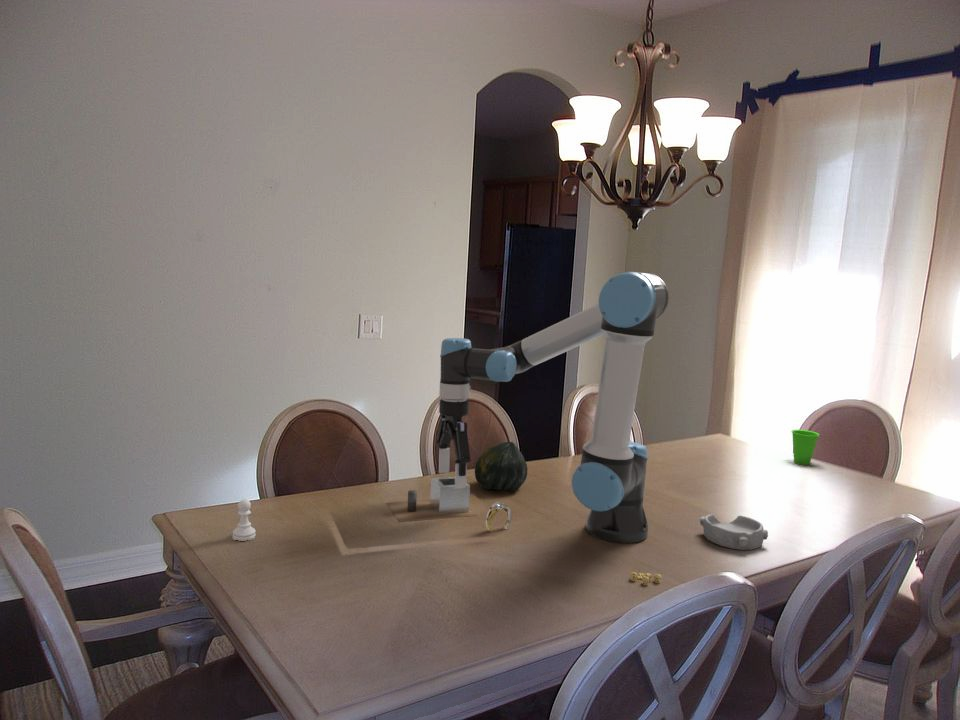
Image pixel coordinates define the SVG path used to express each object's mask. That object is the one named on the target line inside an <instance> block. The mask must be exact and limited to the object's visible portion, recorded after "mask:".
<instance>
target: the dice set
mask: <svg viewBox="0 0 960 720" xmlns="http://www.w3.org/2000/svg"><path fill="white" fill-rule="evenodd" d="M629 575H630V576H629V580H630V581H632V582H637V580H641V584H642V585H643V586H649V583H650V582H651V581H652V578H653V582H654V583H657V584H660V583H661V581H662V575H661V574H659V573H655V574H654V575H653V574H651V573H650V572H648V573H643V572H639V573H637V572H635V571H634V572H633V571H632V572H630V574H629ZM652 576H653V577H652Z"/></svg>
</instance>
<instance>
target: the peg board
mask: <svg viewBox="0 0 960 720" xmlns="http://www.w3.org/2000/svg"><path fill="white" fill-rule="evenodd" d="M417 497H418V492H417V490H415V489H414V490H413V489H412V490H411V489H410V490H408V491H407V501H405V500H404V501H394V502H386V505H387V507H388V508H389V509H390V511H391V512H392V514H393V515H394V517H395V519H397V521H398V522H399V523H402V522H403V523H405V522H416V521H428V520H440V519H452V518H454V519H455V518H466V517H477V515H476V514H475V513H474V512H473V511H472V509H470V508H469V512H462V513H449V514H438V513H437V511H436V510H435V509H434V508H433V507H432V505H431V504H430V499H423V500H422V499H420V500H419V499H418V498H417Z"/></svg>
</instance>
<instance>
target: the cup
mask: <svg viewBox="0 0 960 720" xmlns="http://www.w3.org/2000/svg"><path fill="white" fill-rule="evenodd" d="M790 432H791V434H792V446H793V447H792V448H793V461H794V463H795V464H797V465H800V466H801V465H803V466H808V465H810V464H811V461H812V459H813V454H814V451H815V447H816V444H817V441H818V437H820V433H818V432H815V431H812V430H807V429H806V430H805V429H792V430H791V431H790Z"/></svg>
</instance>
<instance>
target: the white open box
mask: <svg viewBox="0 0 960 720" xmlns="http://www.w3.org/2000/svg"><path fill="white" fill-rule="evenodd" d="M470 493H471V485H470V484H469V483H468V482H467V481H466V488H455V476H444V477H443V476H442V477H431V479H430V495H429V496H430V497H429V498H430V499H429V500H430V504H431V505H432V507H433V508H434V509H435V510H436V511H437V513H438V514H449V513H462V512H469V509H470V495H471V494H470Z"/></svg>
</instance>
